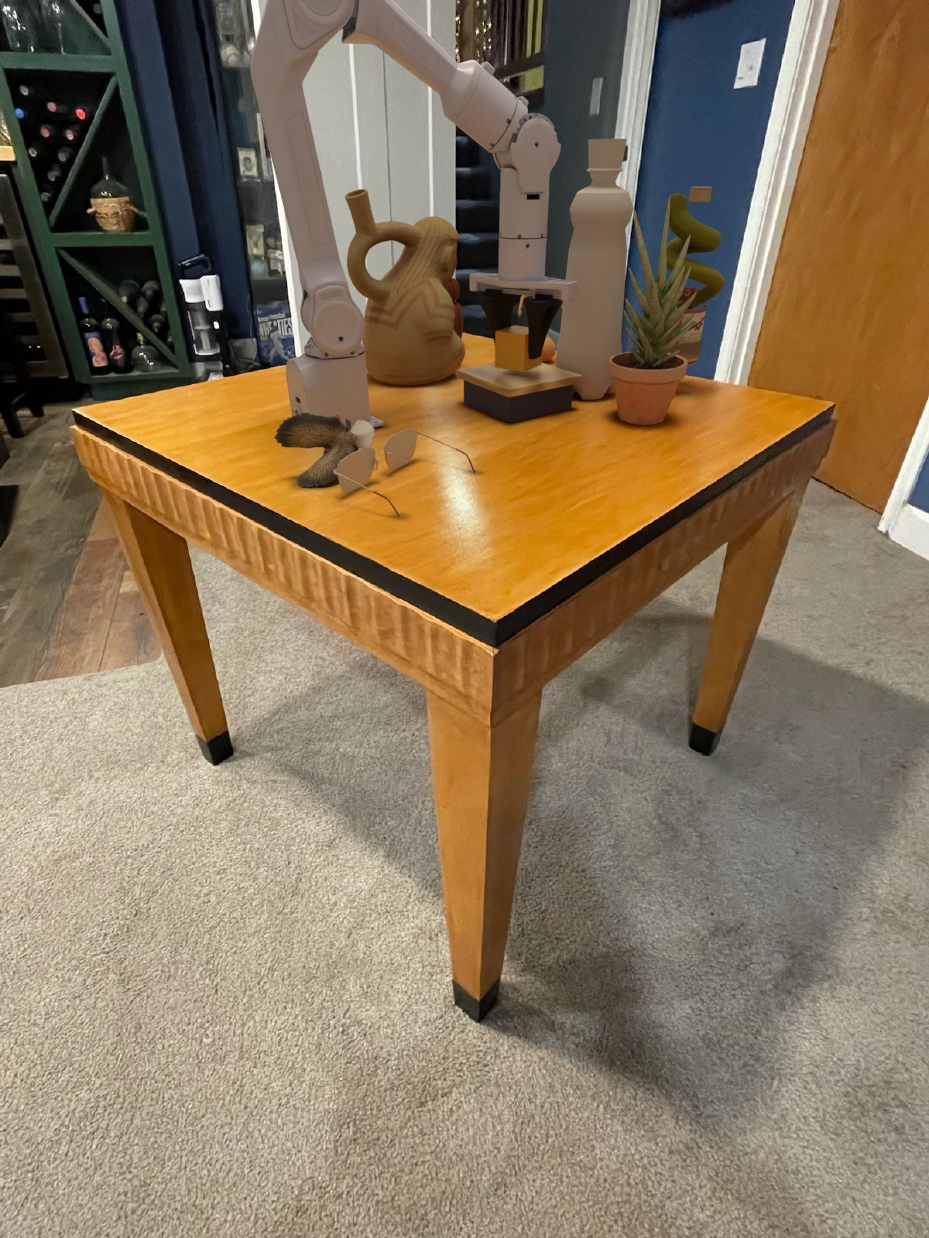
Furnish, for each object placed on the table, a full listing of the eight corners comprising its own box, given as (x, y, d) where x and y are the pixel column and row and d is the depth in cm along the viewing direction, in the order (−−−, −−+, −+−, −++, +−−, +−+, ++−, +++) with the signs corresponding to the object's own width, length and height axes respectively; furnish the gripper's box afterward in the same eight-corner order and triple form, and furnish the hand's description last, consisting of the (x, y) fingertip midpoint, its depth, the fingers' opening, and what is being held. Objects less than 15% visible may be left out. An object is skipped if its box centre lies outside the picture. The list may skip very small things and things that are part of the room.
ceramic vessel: (491, 374, 108) (494, 186, 94) (394, 399, 97) (380, 191, 83) (421, 356, 118) (414, 185, 104) (326, 377, 107) (304, 188, 93)
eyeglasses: (418, 457, 78) (418, 422, 75) (477, 477, 74) (480, 442, 72) (333, 499, 68) (331, 461, 66) (397, 524, 65) (397, 485, 62)
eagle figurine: (322, 441, 79) (262, 450, 72) (349, 392, 75) (288, 396, 68) (364, 488, 78) (307, 502, 71) (394, 441, 73) (337, 450, 66)
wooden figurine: (462, 350, 122) (462, 255, 113) (430, 350, 122) (427, 255, 114) (463, 342, 127) (463, 251, 119) (432, 342, 127) (430, 251, 119)
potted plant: (588, 413, 91) (609, 194, 77) (645, 403, 94) (674, 192, 81) (637, 435, 83) (669, 197, 70) (696, 423, 87) (738, 195, 73)
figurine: (524, 366, 112) (528, 285, 105) (510, 358, 116) (512, 280, 110) (570, 362, 114) (576, 282, 107) (554, 354, 119) (559, 277, 112)
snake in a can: (661, 375, 107) (689, 185, 93) (717, 388, 100) (756, 186, 86) (611, 388, 101) (634, 187, 87) (668, 403, 94) (702, 189, 80)
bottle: (541, 395, 98) (555, 139, 82) (572, 381, 104) (591, 141, 88) (598, 405, 94) (625, 137, 77) (628, 390, 100) (658, 139, 83)
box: (507, 425, 87) (508, 389, 84) (456, 403, 95) (455, 369, 93) (579, 409, 92) (582, 375, 90) (524, 389, 101) (525, 357, 98)
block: (523, 372, 88) (525, 335, 86) (494, 367, 90) (495, 331, 88) (541, 365, 91) (543, 329, 89) (513, 360, 94) (514, 325, 91)
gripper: (592, 237, 82) (582, 356, 89) (491, 232, 89) (490, 342, 96) (563, 242, 77) (555, 367, 84) (459, 236, 84) (460, 352, 92)
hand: (518, 355), depth 90 cm, fingers closed on block, 4 cm apart
